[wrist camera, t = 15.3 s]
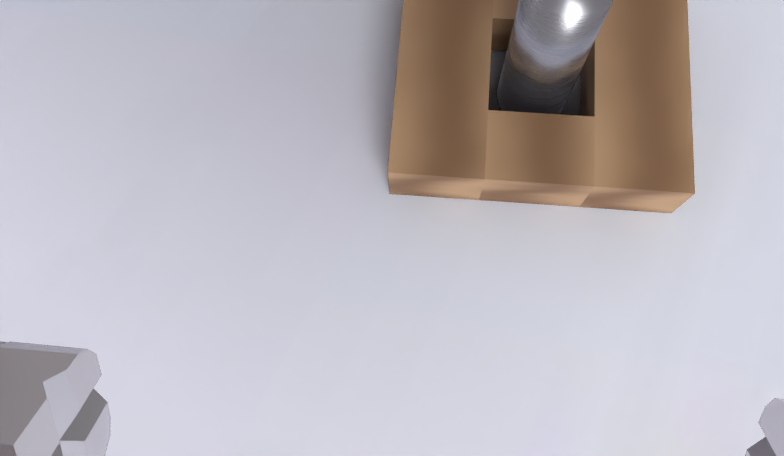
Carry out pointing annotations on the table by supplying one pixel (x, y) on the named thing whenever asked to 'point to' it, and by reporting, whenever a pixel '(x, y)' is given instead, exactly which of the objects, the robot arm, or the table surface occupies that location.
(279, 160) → the table surface
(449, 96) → the hole plate
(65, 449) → the robot arm
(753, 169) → the table surface
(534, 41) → the pin
